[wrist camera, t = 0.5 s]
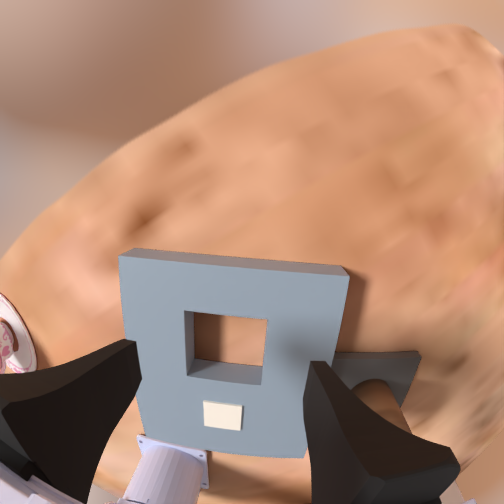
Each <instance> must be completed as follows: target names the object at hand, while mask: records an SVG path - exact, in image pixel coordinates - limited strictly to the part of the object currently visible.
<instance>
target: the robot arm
mask: <svg viewBox="0 0 504 504" xmlns="http://www.w3.org/2000/svg"><path fill="white" fill-rule="evenodd" d="M141 381H142V374H141V369H140V363H139V357H138V350H137V343H136V341H132V340H127V339H122V340H119V341H117V342H114V343H112V344H110V345H108V346H106V347H103V348H101V349H99V350H97V351H95V352H92V353H90V354H88V355H86V356H83V357H81V358H78V359H75V360H73V361H70V362H68V363H65V364H62V365H59V366H55V367H51V368H48V369H43V370H37V371H32V372H25V373H13V374H0V504H87V501H88V496H89V492H90V488H91V485H92V481H93V478H94V475H95V472H96V469H97V466H98V463H99V461H100V458H101V456H102V453H103V451H104V449H105V446H106V444H107V442H108V440H109V437H110V436H111V434H112V432H113V430H114V429H115V427H116V426H117V424H118V422H119V421H120V419H121V418H122V416H123V414H124V413H125V411H126V410H127V408H128V407H129V405H130V403H131V402H132V400H133V398H134V397H135V395H136V392H137V390H138V388H139V386H140V383H141ZM303 420H304V426H305V432H306V438H307V444H308V450H309V456H310V463H311V482H312V504H442V502H441V499H440V496H441V494H442V493H443V492H444V491H445V490H446V489H447V488H448V487H449V486H450V485H451V484H452V483H453V482H454V480H455V479H456V478H457V476H458V474H459V472H460V465H459V463H458V461H457V459H456V457H455V455H454V454H453V452H452V450H451V449H450V447H447V446H443V445H440V444H437V443H433V442H430V441H427V440H425V439H422V438H420V437H417V436H415V435H413V434H411V433H409V432H407V431H405V430H403V429H401V428H399V427H397V426H396V425H394V424H392V423H390V422H389V421H387V420H386V419H384V418H383V417H381V416H380V415H379V414H377V413H376V412H375V411H373V410H372V409H371V408H369V407H368V406H367V405H366V404H365V403H364V402H363V401H361V400H360V399H359V398H358V397H357V396H356V395H355V394H354V393H353V392H352V391H351V390H350V389H349V388H348V387H347V386H346V385H345V384H344V382H343V381H342V380H341V379H340V378H339V377H338V375H337V374H336V373H335V372H334V371H333V369H332V368H331V367H330V366H329V365H328V364H327V362H326V361H310V365H309V370H308V375H307V380H306V385H305V390H304V395H303ZM136 438H137V441H138V444H139V447H140V450H141V453H142V457H141V460H140V462H139V464H138V466H137V468H136V470H135V472H134V474H133V476H132V479H131V481H130V483H129V485H128V487H127V489H126V491H125V494H124V496H123V498H119V500H118V502H117V504H197V501H198V497H199V493H200V489H201V488H203V489H208V488H209V477H208V464H207V452H206V450H203V449H197V448H192V447H187V446H182V445H177V444H173V443H168V442H164V441H160V440H156V439H152V438H149V437H146V436H144V435H140V434H139V435H137V437H136ZM104 504H116V503H114V502H112V501H111V502H108V503H104ZM461 504H477V503H476V501H475V499H474V498H472V499H470V500H468V501H466V502H463V503H461Z"/></svg>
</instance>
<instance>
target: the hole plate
mask: <svg viewBox="0 0 504 504" xmlns="http://www.w3.org/2000/svg"><path fill="white" fill-rule="evenodd" d="M118 260H119V278H120V291H121V302H122V312H123V321H124V329H125V336H126V339H127V340H132V341H136V343H137V350H138V357H139V363H140V369H141V374H142V381H141V383H140V386H139V388H138V390H137V392H136V398H137V403H138V407H139V411H140V415H141V420H142V423H143V427H144V431H145V435H146V437H149V438H152V439H156V440H160V441H164V442H168V443H173V444H177V445H182V446H187V447H192V448H197V449H203V450H209V451H215V452H222V453H229V454H238V455H247V456H259V457H275V458H304V455H305V452H306V450H307V447H308V444H307V438H306V432H305V426H304V420H303V395H304V390H305V385H306V380H307V375H308V370H309V365H310V361H326V362H327V364H328V365H329V366H330V367H331V365H332V361H333V357H334V353H335V349H336V344H337V340H338V335H339V331H340V326H341V321H342V316H343V311H344V306H345V301H346V295H347V290H348V284H349V278H350V276H349V275H348V274H347V272H346V271H345V270H344V269H343V268H342V267H341V266H337V265H325V264H313V263H300V262H288V261H276V260H264V259H253V258H241V257H229V256H218V255H206V254H195V253H184V252H172V251H161V250H150V249H139V248H134V249H131V250H129V251H127V252H125V253H123V254H121V255H119V256H118ZM194 312H201V313H210V314H218V315H227V316H237V317H247V318H258V319H268V320H267V330H266V339H265V349H264V358H263V366H252V365H242V364H233V363H225V362H217V361H209V360H202V359H196V358H195V349H194Z"/></svg>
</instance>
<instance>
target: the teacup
mask: <svg viewBox="0 0 504 504" xmlns="http://www.w3.org/2000/svg"><path fill="white" fill-rule="evenodd" d="M0 317H2V318H4V319H5V320H6V321H7V322H8V323H9V324H10V326H11V327H12V329H13V330H14V332H15V334H16V337H17V340H18V344H19V348H18V351H16V352H15V351H13V344H14V338H13V335H12V333H11V331H10V329H9V328H8V326H7V325H6V324H5V323H3V322H0V369H1V371H0V374H4V372H5V368H6V364H7V365H8V366H9V367H10V368H11V369H12V370H13V371H15V372H16V373H25V372H32V371H36V369H37V358H36V354H35V349H34V345H33V343H32V340H31V338H30V335H29V333H28V330H27V329H26V327H25V325H24V323H23V321H22V319H21V317H20V316H19V314H18V313H17V311H16V310H15V308H14V307H13V305H12V304H11V303H10V302H9V301H8V300H7V299H6V298H5V297H4V296H3V295H2V294H0Z"/></svg>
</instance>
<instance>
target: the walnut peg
mask: <svg viewBox="0 0 504 504" xmlns="http://www.w3.org/2000/svg"><path fill="white" fill-rule="evenodd" d="M351 391H352V392H353V393H354V394H355V395H356V396H357V397H358V398H359V399H360V400H361V401H363V402H364V403H365V404H366V405H367V406H368V407H369V408H371V409H372V410H373V411H375V412H376V413H377V414H379V415H380V416H381V417H383V418H384V419H386V420H387V421H389V422H390V423H392V424H394V425H396V426H397V427H399V428H401V429H403V430H405V431H407V432H409V433H411V434H412V432H411V430H410V428H409V426H408V424H407V422H406V420H405V418H404V416H403V414H402V411H401V409H400V407H399V405H398V403H397V401H396V399H395V397H394V395H393V393H392V391H391V389H390V387H389V385H388V384H387V383H386V382H385V381H384V380H381V379H368V380H365V381H363V382H361V383H359V384H357V385H356V386H354V387H353V388H352V389H351Z"/></svg>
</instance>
